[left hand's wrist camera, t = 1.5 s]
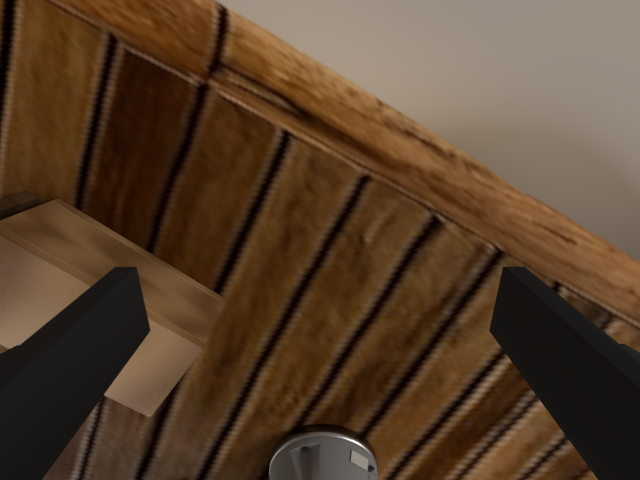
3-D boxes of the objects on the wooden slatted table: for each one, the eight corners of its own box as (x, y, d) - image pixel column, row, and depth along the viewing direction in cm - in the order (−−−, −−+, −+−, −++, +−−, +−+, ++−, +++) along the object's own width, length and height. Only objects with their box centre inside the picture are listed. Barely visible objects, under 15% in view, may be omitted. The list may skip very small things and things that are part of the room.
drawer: (-64, 229, 36) (-143, 257, 30) (-36, 153, 33) (-119, 166, 27) (153, 346, 42) (124, 390, 36) (193, 290, 39) (169, 327, 33)
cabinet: (22, 272, 39) (-55, 318, 31) (58, 197, 36) (-18, 226, 28) (181, 358, 44) (149, 417, 36) (226, 299, 40) (203, 349, 32)
